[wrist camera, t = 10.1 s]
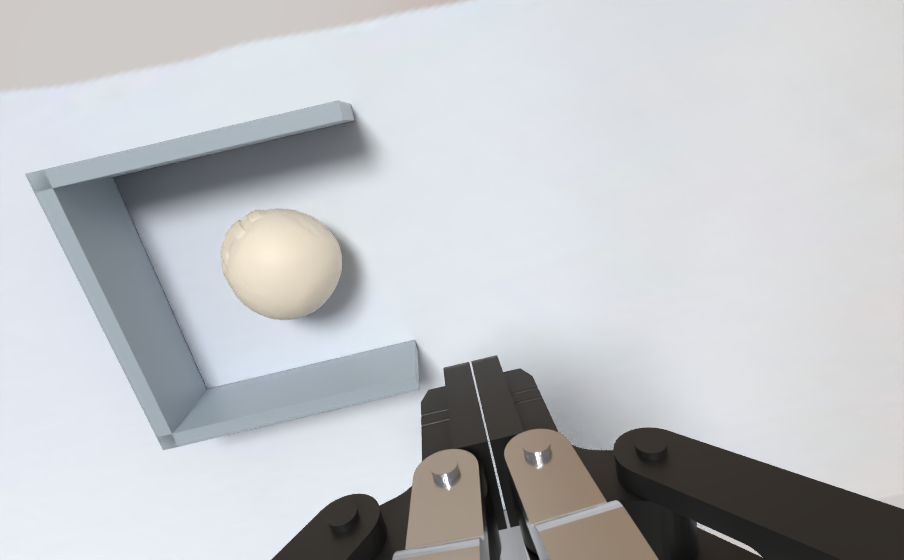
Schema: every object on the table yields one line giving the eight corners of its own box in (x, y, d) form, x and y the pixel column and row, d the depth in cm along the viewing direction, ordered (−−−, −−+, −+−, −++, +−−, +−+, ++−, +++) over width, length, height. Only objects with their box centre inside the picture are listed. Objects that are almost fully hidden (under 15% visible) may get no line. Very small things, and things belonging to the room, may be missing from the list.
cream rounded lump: (269, 178, 32) (233, 191, 26) (365, 236, 34) (354, 262, 27) (223, 261, 34) (178, 293, 27) (317, 313, 35) (296, 355, 29)
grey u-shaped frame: (350, 104, 31) (337, 100, 26) (418, 351, 37) (418, 389, 31) (90, 165, 31) (25, 174, 26) (198, 403, 37) (163, 450, 31)
